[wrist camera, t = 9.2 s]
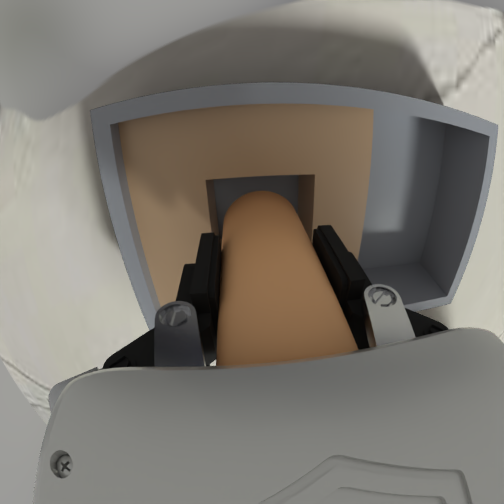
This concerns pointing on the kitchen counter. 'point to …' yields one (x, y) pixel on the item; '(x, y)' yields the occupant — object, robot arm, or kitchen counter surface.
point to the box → (297, 178)
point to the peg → (274, 288)
